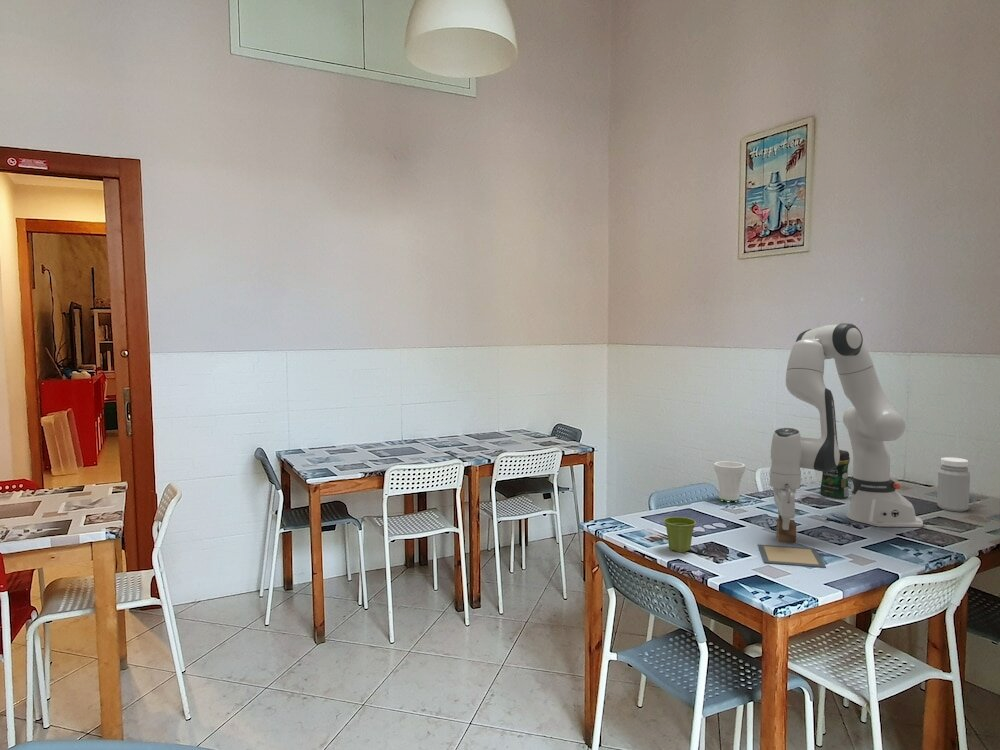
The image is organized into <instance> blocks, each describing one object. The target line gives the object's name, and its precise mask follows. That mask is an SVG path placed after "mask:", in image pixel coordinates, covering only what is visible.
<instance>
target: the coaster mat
mask: <svg viewBox="0 0 1000 750" xmlns="http://www.w3.org/2000/svg"><path fill="white" fill-rule="evenodd" d="M757 547H758V550H759V553H760V555H761V558H762V561H763V564H769V565H770V564H771V565H783V566H794V567H795V566H797V567H808V568H809V567H811V568H821V569H822V568H823V569H824V568H825V569H826V568H827V566H826V564H825V563H824V561H823V559H822V558H821V556H820V554H819V553H818V551H817V550H816V548H814V547H802V546H801V547H799V546H788V545H772V544H759V543H758V544H757Z"/></svg>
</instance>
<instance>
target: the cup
mask: <svg viewBox="0 0 1000 750" xmlns="http://www.w3.org/2000/svg"><path fill="white" fill-rule="evenodd" d="M713 465H714V467H713V469H714V472H715V474H716V477H717V481H718V489H719V490H718V499H719V501H720V502H722V501H721V500H724V502H726V501H731V500H732V501H731V502H733V501H738V502H739V500H740V498H741V497H740V496H741V494H740V487H741V481H742V477H743V475H744V473H745V470H746V465H745V464H744V463H742V462H739V461H738V462H737V461H730V460H729V461H723V460H722V461H716V462H714V463H713Z"/></svg>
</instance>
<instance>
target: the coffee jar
mask: <svg viewBox="0 0 1000 750" xmlns="http://www.w3.org/2000/svg"><path fill="white" fill-rule="evenodd" d="M839 453H840V460H839V464H838V466H837V467H836V468H834V469H833V470H831V471H829V472H821V473H822V474H821V483H820V492H819V493H820V494H821V495H822V496H825V497H827V498H833V499H843V498H844V499H846V498H848V497H849V494H850V493H849V491H850V490H849V473H848V472H849V471H848V470H849V464H850V461H851V459H850V453H849V451H847V450H843V449H839Z"/></svg>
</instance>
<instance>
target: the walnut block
mask: <svg viewBox="0 0 1000 750" xmlns="http://www.w3.org/2000/svg"><path fill="white" fill-rule="evenodd" d="M782 521H783V519H778V518H776V539H777V542H778V543H783V544H795V545H797V526H798V525H797V523H796V521H795V519H790V523H789V530H783V528H782Z"/></svg>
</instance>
